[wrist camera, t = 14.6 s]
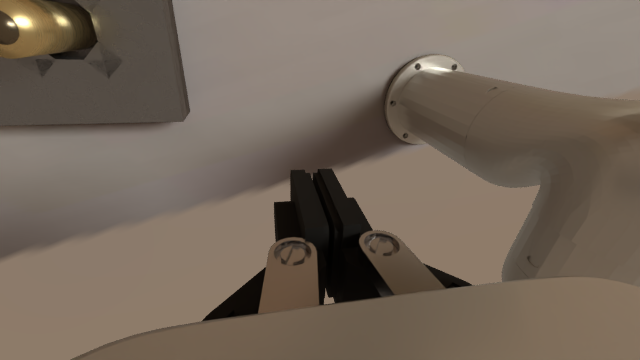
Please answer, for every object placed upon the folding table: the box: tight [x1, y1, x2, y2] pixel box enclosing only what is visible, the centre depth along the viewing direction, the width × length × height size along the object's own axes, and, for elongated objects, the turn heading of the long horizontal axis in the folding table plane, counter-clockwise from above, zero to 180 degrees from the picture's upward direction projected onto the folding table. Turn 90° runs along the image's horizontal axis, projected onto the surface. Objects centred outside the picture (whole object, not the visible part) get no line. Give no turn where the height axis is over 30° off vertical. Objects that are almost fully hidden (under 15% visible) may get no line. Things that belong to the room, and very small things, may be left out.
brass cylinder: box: [0, 0, 97, 59], centre depth 24 cm, size 4×4×10 cm
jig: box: [0, 0, 190, 126], centre depth 28 cm, size 18×18×6 cm
